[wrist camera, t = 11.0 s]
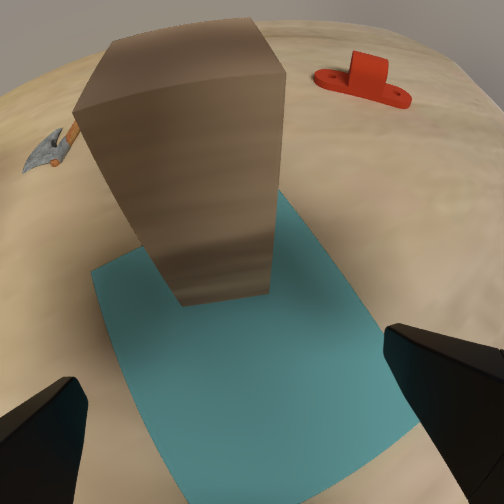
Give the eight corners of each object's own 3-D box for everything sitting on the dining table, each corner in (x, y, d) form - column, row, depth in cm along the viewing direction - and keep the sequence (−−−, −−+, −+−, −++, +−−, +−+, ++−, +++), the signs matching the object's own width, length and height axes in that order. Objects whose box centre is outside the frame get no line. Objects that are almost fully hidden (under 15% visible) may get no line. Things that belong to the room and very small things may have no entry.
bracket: (407, 98, 30) (417, 64, 25) (411, 114, 28) (423, 78, 24) (315, 74, 31) (319, 39, 27) (311, 88, 30) (316, 49, 25)
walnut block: (268, 293, 17) (286, 73, 6) (182, 306, 17) (71, 112, 6) (254, 221, 20) (250, 17, 8) (177, 233, 19) (112, 41, 8)
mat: (426, 411, 14) (431, 411, 13) (214, 534, 11) (213, 538, 10) (275, 191, 22) (276, 186, 21) (94, 275, 19) (90, 271, 18)
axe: (92, 70, 36) (89, 61, 34) (129, 63, 36) (127, 54, 34) (20, 175, 25) (13, 165, 23) (63, 170, 25) (57, 159, 23)
